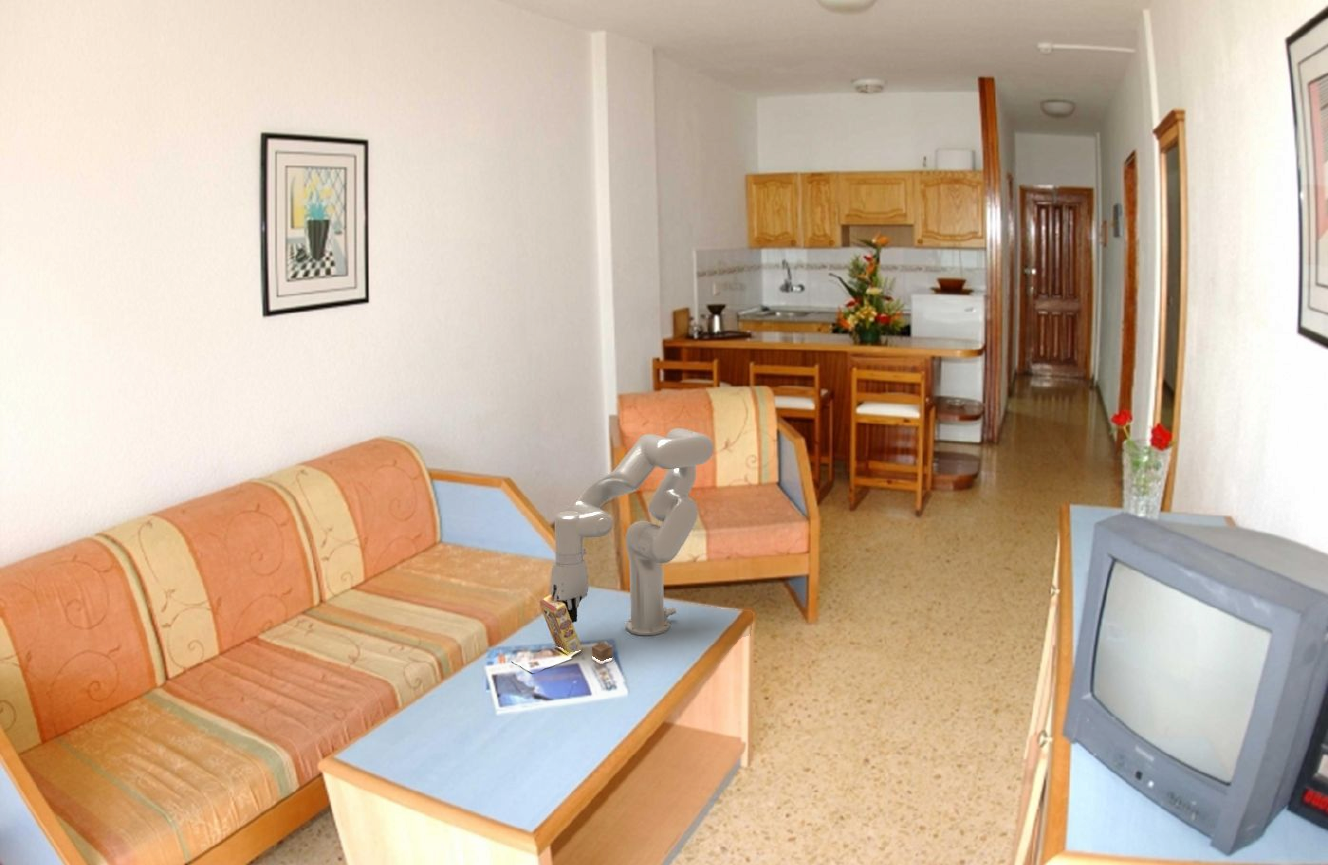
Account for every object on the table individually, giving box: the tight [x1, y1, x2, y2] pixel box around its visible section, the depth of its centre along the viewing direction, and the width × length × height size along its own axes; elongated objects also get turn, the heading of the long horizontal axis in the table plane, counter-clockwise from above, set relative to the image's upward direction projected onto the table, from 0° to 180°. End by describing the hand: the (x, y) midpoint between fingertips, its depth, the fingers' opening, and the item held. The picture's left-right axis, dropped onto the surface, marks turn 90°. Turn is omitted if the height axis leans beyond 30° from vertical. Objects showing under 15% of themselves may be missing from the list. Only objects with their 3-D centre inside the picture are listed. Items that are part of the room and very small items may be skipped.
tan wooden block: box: [591, 641, 614, 661], centre depth 271 cm, size 4×4×4 cm
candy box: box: [538, 594, 583, 653], centre depth 274 cm, size 9×4×15 cm, turn 35°
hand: (571, 620), depth 276 cm, fingers closed
